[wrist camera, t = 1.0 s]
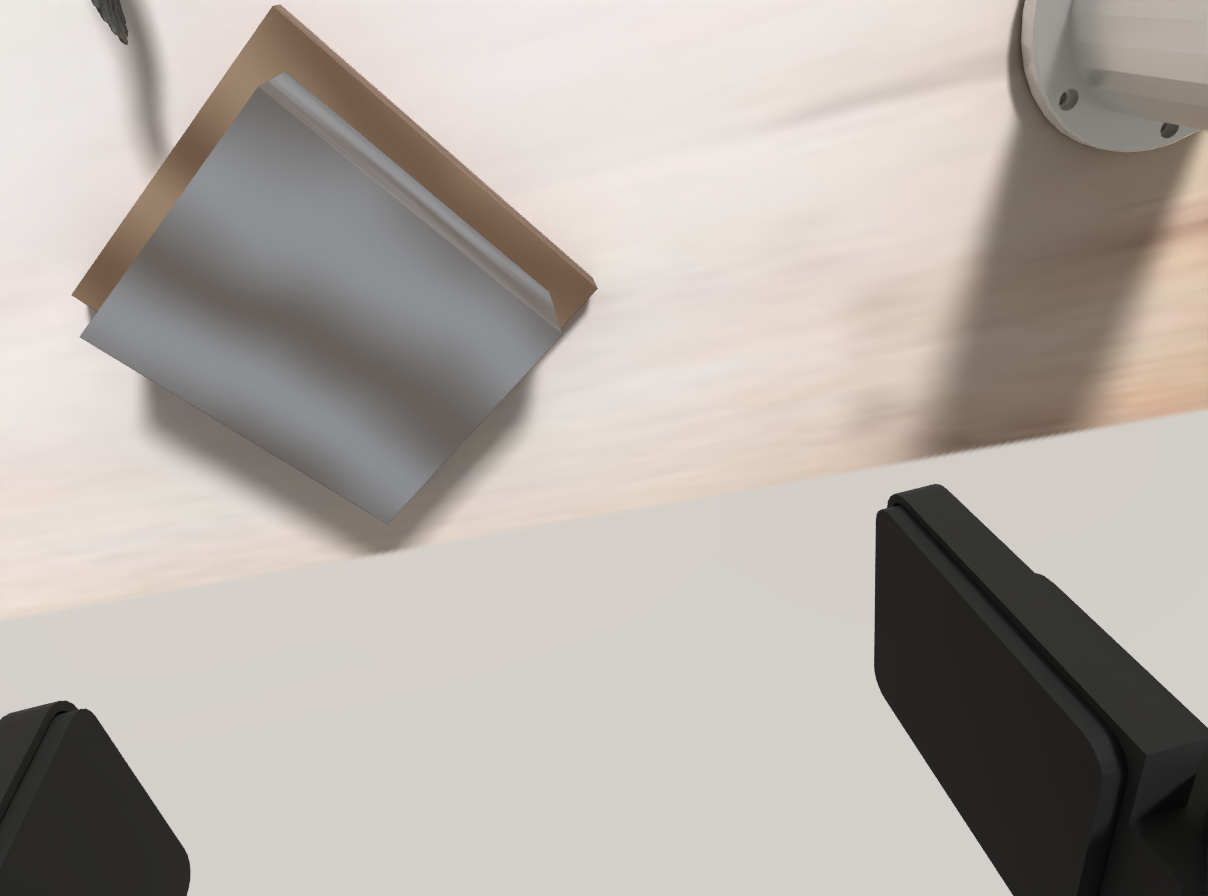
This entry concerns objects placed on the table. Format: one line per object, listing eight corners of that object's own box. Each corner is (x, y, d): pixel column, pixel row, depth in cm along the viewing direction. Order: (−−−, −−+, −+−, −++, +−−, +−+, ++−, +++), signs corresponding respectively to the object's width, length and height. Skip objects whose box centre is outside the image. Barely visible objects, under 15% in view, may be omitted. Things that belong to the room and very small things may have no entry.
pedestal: (280, 4, 31) (242, 10, 25) (592, 278, 38) (616, 329, 32) (85, 283, 35) (14, 342, 29) (402, 485, 42) (394, 564, 36)
